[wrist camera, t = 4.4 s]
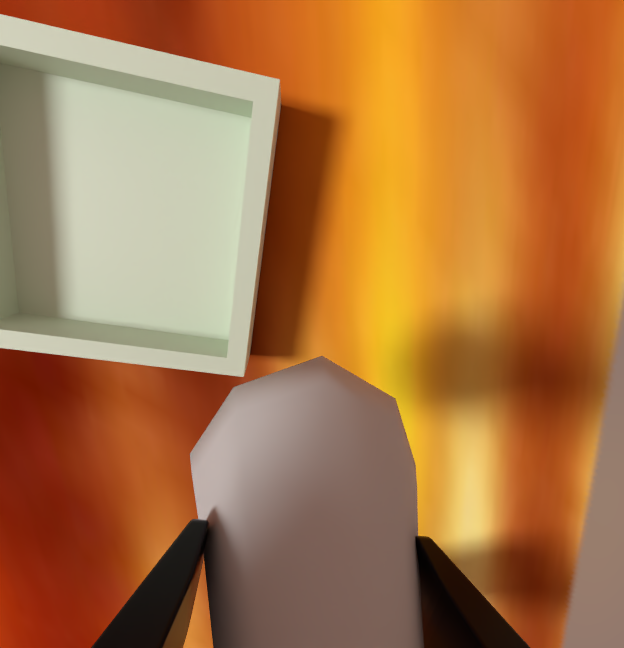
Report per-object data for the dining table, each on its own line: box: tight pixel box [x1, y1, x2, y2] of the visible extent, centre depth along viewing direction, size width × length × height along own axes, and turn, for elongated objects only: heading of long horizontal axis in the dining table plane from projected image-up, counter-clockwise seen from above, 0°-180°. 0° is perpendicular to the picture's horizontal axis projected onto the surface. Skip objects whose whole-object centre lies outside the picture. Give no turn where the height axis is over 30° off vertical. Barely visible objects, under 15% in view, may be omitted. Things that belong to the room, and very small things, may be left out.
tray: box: [0, 14, 281, 377], centre depth 16 cm, size 14×14×3 cm
